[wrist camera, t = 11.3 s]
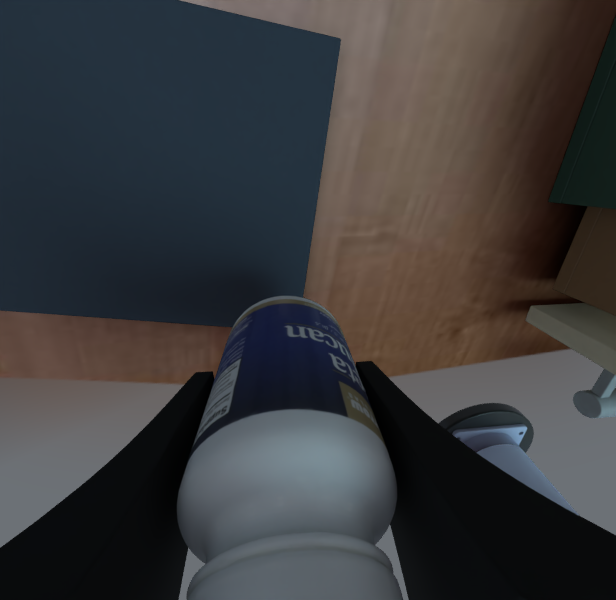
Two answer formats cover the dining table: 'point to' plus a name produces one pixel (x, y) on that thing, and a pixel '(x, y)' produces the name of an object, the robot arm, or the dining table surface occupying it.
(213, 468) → the pill bottle
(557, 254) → the dining table surface
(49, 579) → the robot arm
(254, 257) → the mat
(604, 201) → the cabinet
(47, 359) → the dining table surface
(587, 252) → the drawer
